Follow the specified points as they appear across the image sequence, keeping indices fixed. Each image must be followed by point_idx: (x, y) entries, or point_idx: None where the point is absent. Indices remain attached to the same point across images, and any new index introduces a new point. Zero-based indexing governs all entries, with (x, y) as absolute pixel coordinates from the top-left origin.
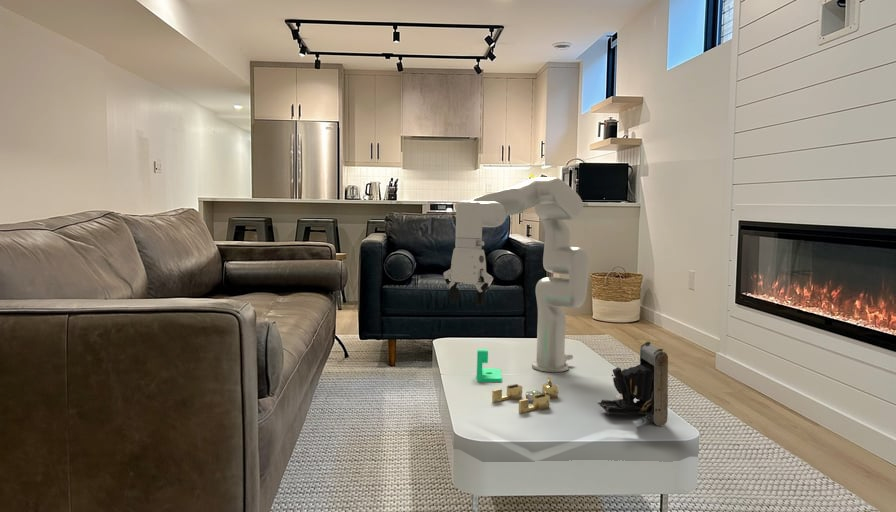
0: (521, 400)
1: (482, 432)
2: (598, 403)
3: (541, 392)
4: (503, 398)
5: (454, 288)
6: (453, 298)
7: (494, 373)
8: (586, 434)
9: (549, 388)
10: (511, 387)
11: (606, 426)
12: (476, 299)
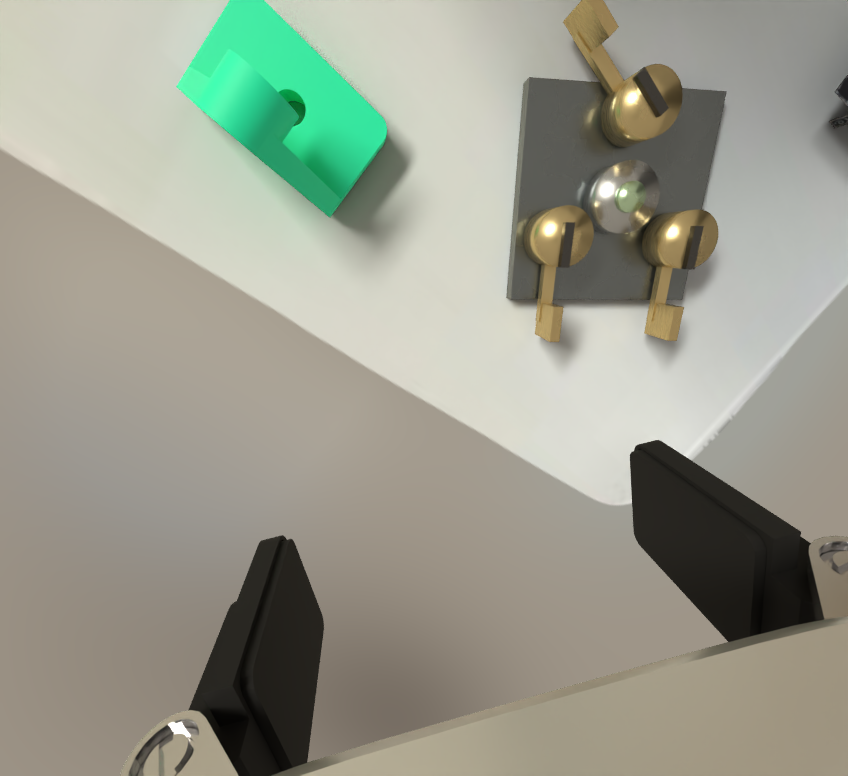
0: (673, 334)
1: None
2: (842, 97)
3: (635, 164)
4: (551, 296)
5: (265, 749)
6: (310, 629)
7: (305, 86)
8: (818, 269)
9: (664, 131)
10: (568, 258)
11: (843, 170)
12: (685, 587)
